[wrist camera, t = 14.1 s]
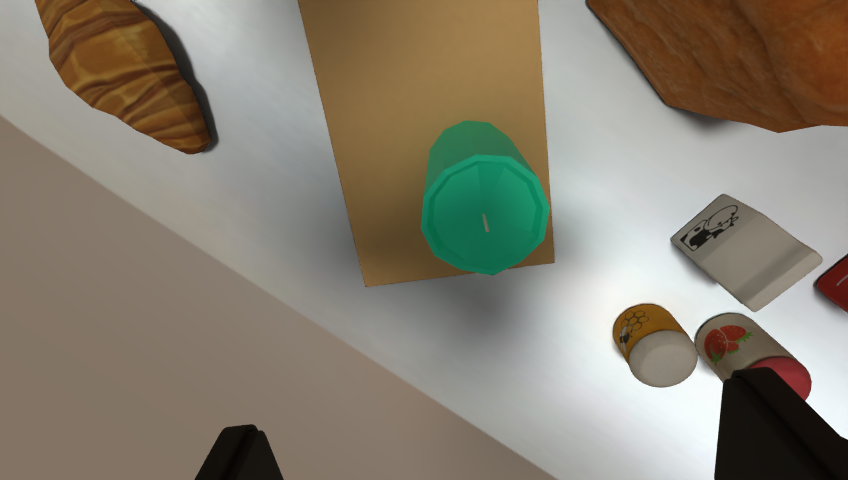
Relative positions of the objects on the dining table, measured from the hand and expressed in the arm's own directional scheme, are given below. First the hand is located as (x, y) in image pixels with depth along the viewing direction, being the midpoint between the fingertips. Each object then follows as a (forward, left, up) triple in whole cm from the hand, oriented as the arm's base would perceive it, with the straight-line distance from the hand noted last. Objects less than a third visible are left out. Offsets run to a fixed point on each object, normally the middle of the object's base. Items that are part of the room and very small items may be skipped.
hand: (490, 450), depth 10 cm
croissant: (-10, -19, -24) cm, 32 cm away
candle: (0, +1, -24) cm, 24 cm away
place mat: (-2, -1, -24) cm, 24 cm away
